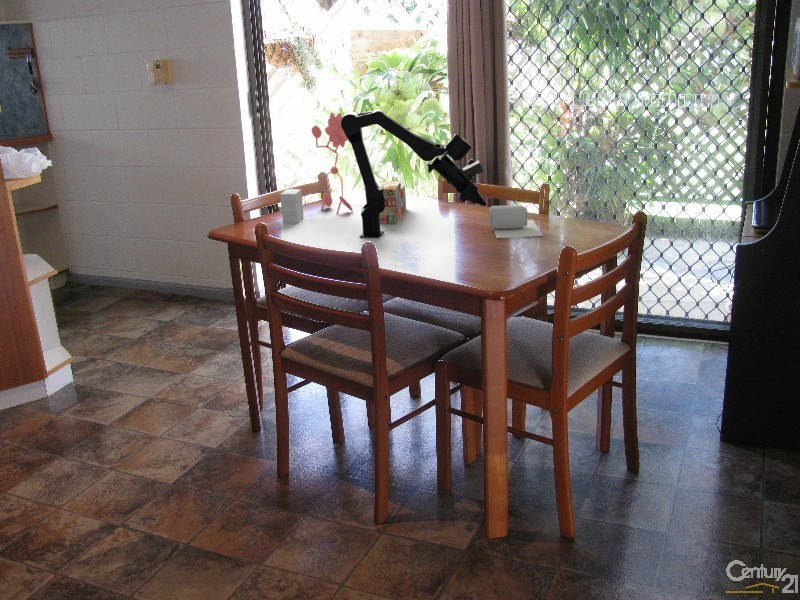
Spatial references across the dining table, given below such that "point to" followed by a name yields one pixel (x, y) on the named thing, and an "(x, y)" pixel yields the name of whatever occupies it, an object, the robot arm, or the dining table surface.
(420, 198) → the dining table surface
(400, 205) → the stack of blocks
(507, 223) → the can
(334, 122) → the figurine
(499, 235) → the mat
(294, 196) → the small box
